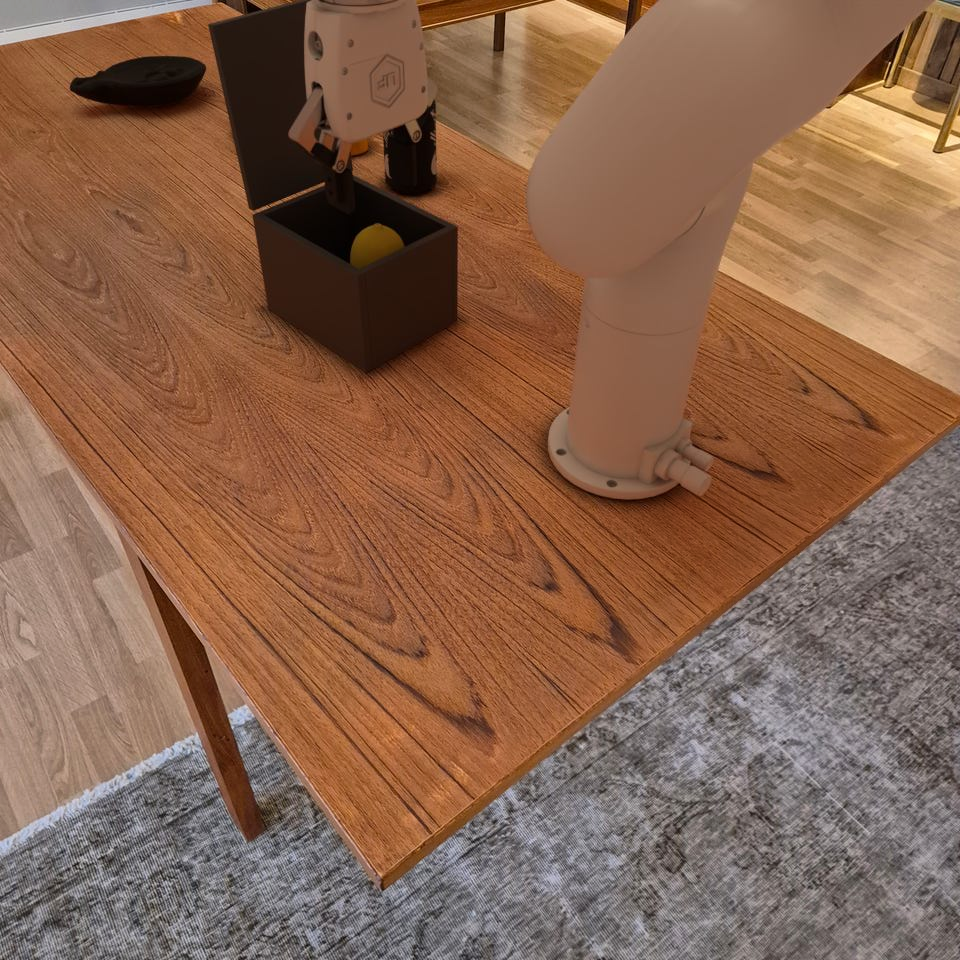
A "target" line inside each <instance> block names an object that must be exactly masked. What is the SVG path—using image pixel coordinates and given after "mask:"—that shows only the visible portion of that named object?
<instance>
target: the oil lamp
mask: <svg viewBox="0 0 960 960" xmlns="http://www.w3.org/2000/svg"><path fill="white" fill-rule="evenodd" d="M206 72H207V66H206V63H203V62H202V61H200V60H198V59H196V58H194V57H189V56H179V55H152V56H151V55H150V56H149V55H148V56H141V57H135V58H130V59H127V60H124V61H120V62H118V63H114V64H112V65H110V66H109V67H107V68H106V69H105V70H98V71H97V72H96V73H95V74H94V75H92V76H86V77H78V76H76V77H74V78H73V79H72V80H71V82H70V85H69V91H70V92H71V93H73V94H75V95H77V96H79V97H81V98H83V99H86V100H89V101H92V102H95V103H100V104H104V105H105V104H107V105H115V106H128V107H129V106H130V107H143V108H152V107H162V106H169V105H173V104H177V103H180V102H182V101H184V100H186V99H188V98H189V97H191V96H192V95H193V93H194V92H195V91H196V90H197V88H198V87H199V85H200V83H201V82H202V80H203V78H204V76H205V74H206Z"/></svg>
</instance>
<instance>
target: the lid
mask: <svg viewBox="0 0 960 960" xmlns="http://www.w3.org/2000/svg"><path fill="white" fill-rule="evenodd" d="M309 1H312V0H294V1H291V2H287V3H283V4H280V5H276V6H272V7H268V8H264V9H260V10H257V11H253V12H249V13H245V14H241V15H238V16H234V17H230V18H226V19H222V20H218V21H215V22H211V23H208V24H207V25H208V30H209V34H210V40H211V44H212V48H213V49H212V50H213V54H214V57H215V62H216V66H217V71H218V76H219V80H220V85H221V89H222V94H223V99H224V103H225V108H226V112H227V116H228V121H229V125H230V130H231V134H232V138H233V143H234V147H235V151H236V158H237V162H238V166H239V169H240V170H239V171H240V174H241V179H242V184H243V188H244V193H245V197H246V202H247V206H248V209H249V210H251V211H253V212H255V211H257V210H259V209H262V208H265V207H267V206H269V205H272V204H274V203H277V202H280V201H282V200H284V199H287V198H289V197H292V196H294V195H297V194H299V193H301V192H303V191H307V190H309V189H311V188H313V187H316V186H318V185H321V184H323V183H324V174H323V165H322V164H320V163H318V162H317V161H316V160H315V159H313V158H312V157H311V156H309V155H308V154H307V153H305V152H304V150H303V149H302V148H300V147H299V146H298V145H297V144H296V143H295V142H294V141H292V140H291V139H290V138H289V135H288V134H289V130H290V128H291V127H292V125H293V123H294V122H295V120H296V118H297V117H298V115H299V113H300V112H301V110H302V108H303V107H304V105H305V103H306V102H307V95H306V83H305V65H304V33H305V16H306V5H307V2H309ZM321 130H322V129H318V128H316V129H315V132H314V136H315V138H316V139H317V140H318V141H319V138H320V134H321ZM337 141H338V139H337V138H335V139H334V143H333V147H332V152H334V153H335V149H336V145H337ZM346 168H348V169H350V170H352V172H353V171H354V165H353V158H352V156H351V150H350V154H349V158H348V161H347V165H346ZM324 184H325V183H324Z"/></svg>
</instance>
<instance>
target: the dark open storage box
mask: <svg viewBox="0 0 960 960" xmlns="http://www.w3.org/2000/svg"><path fill="white" fill-rule="evenodd" d="M353 183H354V195H355V207H356V209H355V212H353V213H351V214H347V213H345V212H343V211H341V210H339V209H337V208H336V207H334V206H332V205H330V204H329V203H328V201H327V197H326V192H325V184H324V185H322V186H319V187H317V188H315V189H312V190H310V191H306V192H304V193H302V194H300V195H297V196H295V197H292V198H290V199H287V200H285V201H283V202H279V203H277V204H275V205H273V206H270V207H268V208H266V209H263V210H261V211H257V212H255V213H253V214H252V215H251V216H252V222H253V228H254V233H255V239H256V245H257V250H258V251H257V252H258V256H259V263H260V268H261V274H262V280H263V286H264V291H265V297H266V304H267V309H268V310H269V311H271V312H272V313H273V314H275V315H276V316H277V317H280V318H281V319H283V320H284V321H286V322H287V323H289V324H290V325H292V326H293V327H294V328H297V329H298V330H299V331H301V332H303V333H304V334H306V335H307V336H308V337H310V338H312V339H314V340H315V341H317V342H318V343H319V344H321V345H323V346H324V347H325V348H327V349H329V351H331V352H333V353H334V354H336V355H338V356H339V357H341V358H342V359H344V360H346V361H347V362H348V363H350V364H352V365H353V366H355V367H356V368H358V369H359V370H360V371H362V372H364V373H366V374H367V373H370V372H371V371H373V370H374V369H376V368H378V367H380V366H381V365H384V364H385V363H387V362H389V361H390V360H392V359H394V358H395V357H397V356H399V355H401V354H402V353H405V352H407V351H408V350H409V349H411V348H413V347H415V346H416V345H419V344H420V343H422V342H424V341H425V340H427V339H429V338H431V337H432V336H434V335H437V333H439V332H441V331H443V330H444V329H446V328H448V327H450V326H452V325H453V324H456V323H457V322H458V309H459V308H458V305H459V304H458V299H459V298H458V297H459V296H458V295H459V294H458V292H459V289H458V285H459V284H458V281H459V279H458V276H459V275H458V274H459V273H458V271H459V270H458V269H459V267H458V265H459V263H458V262H459V253H458V252H459V250H458V249H459V248H458V247H459V227H458V226H457V225H456V224H453V223H451V222H450V221H447V220H446V219H443V218H441V217H439V216H437V215H435V214H433V213H431V212H429V211H427V210H425V209H423V208H421V207H419V206H417V205H415V204H413V203H411V202H409V201H406V200H405V199H403V198H401V197H399V196H396V195H394V194H393V193H391V192H388V191H386V190H384V189H383V188H380V187H378V186H377V185H375V184H372V183H370V182H368V181H366V180H364V179H362V178H360V177H358V176H356V175H354V174H353ZM376 223H379V224H381V225H383V226H386V227H389V228H391V229H392V230H394V231H395V232H396V233H397V234H398V235H399V236H400V238H401V239H402V241H403V244H404V248H402V249H400V250H397V251H395V252H393V253H391V254H389V255H387V256H385V257H383V258H381V259H379V260H377V261H375V262H373V263H371V264H369V265H367V266H365V267H362V268H360V269H358V268H356V267H354V266H352V265H351V264H350V255H351V249H352V245H353V242H354V240H355V238H356V236H357V235H358V234H359V233H360V232H361V231H362V230H363V229H365V228H367V227H369V226H373V225H374V224H376Z"/></svg>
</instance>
